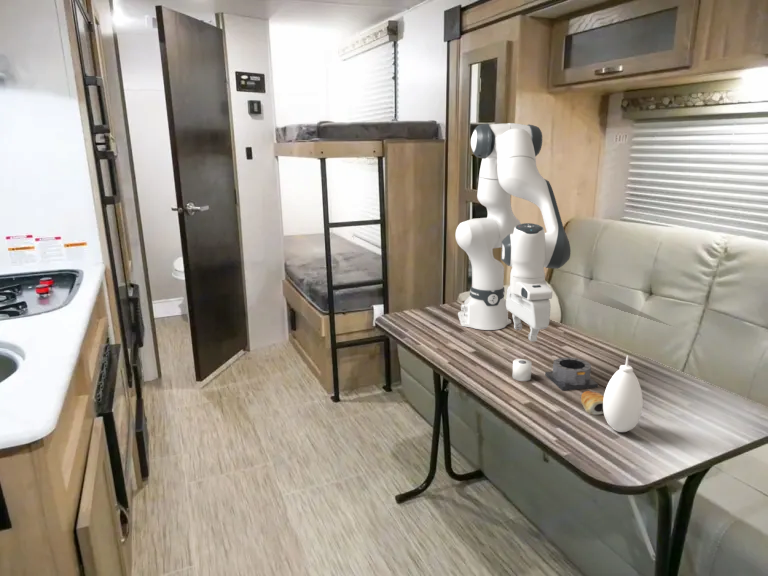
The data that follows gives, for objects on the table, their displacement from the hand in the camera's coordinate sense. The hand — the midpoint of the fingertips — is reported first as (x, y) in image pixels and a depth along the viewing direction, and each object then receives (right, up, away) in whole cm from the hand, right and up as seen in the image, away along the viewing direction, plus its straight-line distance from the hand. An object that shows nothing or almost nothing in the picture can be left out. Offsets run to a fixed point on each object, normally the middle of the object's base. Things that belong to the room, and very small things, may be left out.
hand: (524, 335), depth 141 cm
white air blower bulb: (+15, -19, -25) cm, 35 cm away
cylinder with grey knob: (0, -12, +3) cm, 13 cm away
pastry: (+13, -17, -14) cm, 26 cm away
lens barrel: (+13, -13, 0) cm, 18 cm away
